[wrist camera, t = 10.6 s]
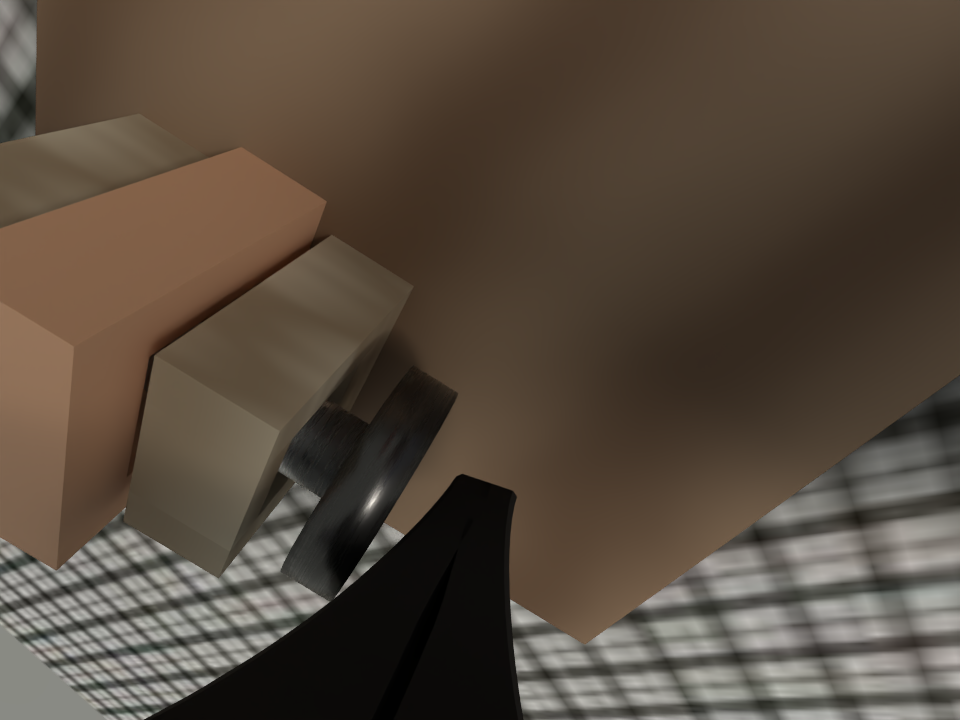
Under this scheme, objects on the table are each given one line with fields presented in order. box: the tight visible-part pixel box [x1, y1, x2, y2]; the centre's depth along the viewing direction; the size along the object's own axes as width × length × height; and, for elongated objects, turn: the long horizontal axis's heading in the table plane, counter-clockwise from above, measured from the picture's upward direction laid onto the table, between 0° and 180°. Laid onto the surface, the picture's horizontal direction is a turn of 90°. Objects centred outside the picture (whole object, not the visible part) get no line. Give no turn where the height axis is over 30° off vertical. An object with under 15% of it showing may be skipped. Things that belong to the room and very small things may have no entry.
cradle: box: [0, 0, 960, 644], centre depth 10 cm, size 18×18×6 cm
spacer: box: [0, 147, 327, 570], centre depth 11 cm, size 2×6×6 cm, turn 152°
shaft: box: [143, 321, 458, 602], centre depth 11 cm, size 8×4×4 cm, turn 62°
